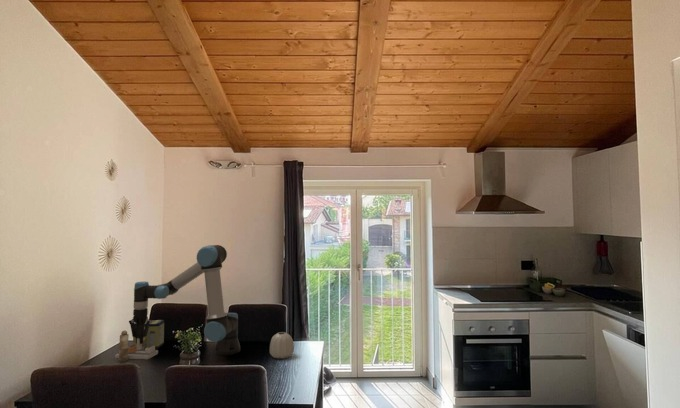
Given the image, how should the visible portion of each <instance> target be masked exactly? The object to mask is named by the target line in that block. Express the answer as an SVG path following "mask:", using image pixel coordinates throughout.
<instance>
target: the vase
mask: <svg viewBox="0 0 680 408" xmlns="http://www.w3.org/2000/svg"><path fill="white" fill-rule="evenodd" d="M294 346H295V345H294V340H293V338H292V336H291V335H290V334H289V333H287V332H284V331H281V332H277V333H276V334H274V335H273V336H272V337H271V340H270V342H269V354H270V356H272V358H274V359H278V360H279V359H281V360H283V359H287V358H290V357H291V356H292V354H293V353H294V352H295V351H294V350H295V347H294Z"/></svg>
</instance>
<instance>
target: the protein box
mask: <svg viewBox="0 0 680 408" xmlns="http://www.w3.org/2000/svg"><path fill="white" fill-rule="evenodd" d="M150 320H151V323H150V325H149V329H148V333H147V336H146V337H145V348H147V347H148V346H150V345H153V346H155V350H158V349H160V348H161V347H162V346H163V345H164V344H165V340H164V339H165V320H164V319H157V320H152V319H150ZM145 325H146V322H145ZM145 325H144V327H145ZM135 327H136V326H135ZM133 344H135V345H137V344H136V338H135V337H133V336H132V345H133Z"/></svg>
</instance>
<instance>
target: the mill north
mask: <svg viewBox="0 0 680 408" xmlns="http://www.w3.org/2000/svg"><path fill="white" fill-rule="evenodd" d="M129 335H130V334H128V331H127V330H123V331H121V333H120V335H119V346H118V347H119V348H118V353H119V358H118V362H120V363H122V362H126V361H128V347H129Z"/></svg>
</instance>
